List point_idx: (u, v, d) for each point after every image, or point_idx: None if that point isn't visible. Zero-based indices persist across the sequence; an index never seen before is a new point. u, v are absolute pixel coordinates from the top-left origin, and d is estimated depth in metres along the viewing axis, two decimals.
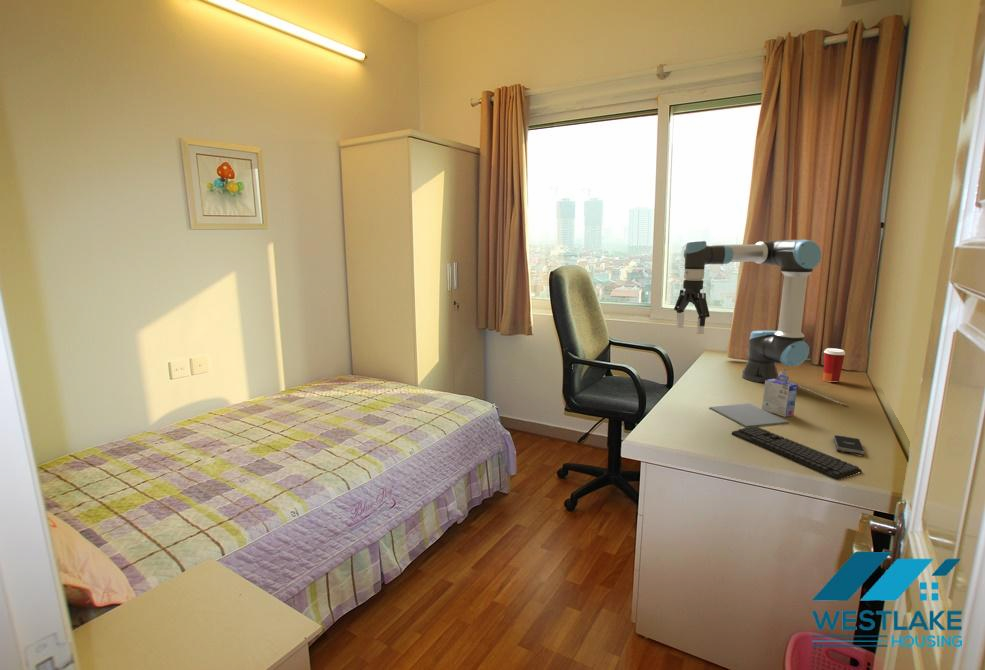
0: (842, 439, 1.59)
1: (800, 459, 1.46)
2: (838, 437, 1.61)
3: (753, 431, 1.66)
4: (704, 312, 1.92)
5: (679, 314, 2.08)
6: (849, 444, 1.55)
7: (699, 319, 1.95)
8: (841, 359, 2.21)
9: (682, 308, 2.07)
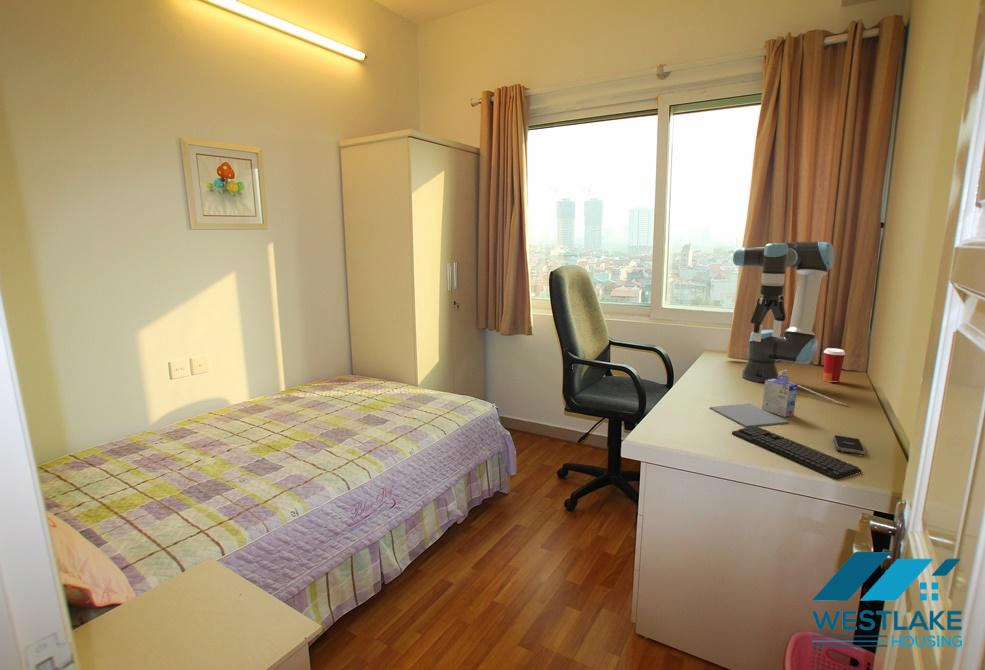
0: (842, 439, 1.59)
1: (800, 459, 1.46)
2: (838, 437, 1.61)
3: (753, 431, 1.66)
4: (753, 317, 1.85)
5: (774, 322, 1.94)
6: (849, 444, 1.55)
7: None
8: (841, 359, 2.21)
9: (776, 316, 1.92)
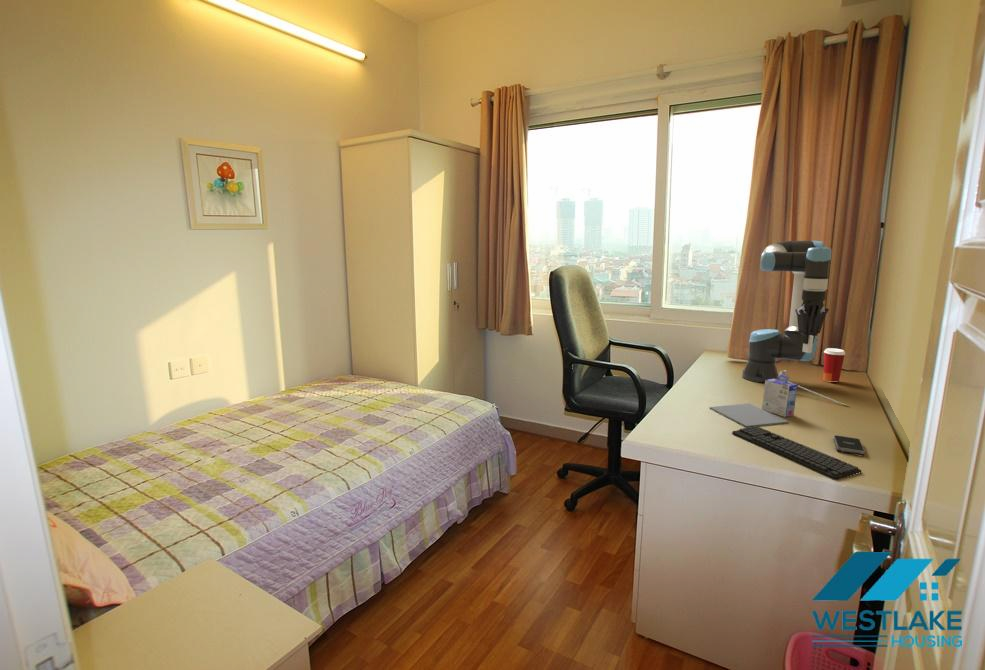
0: (842, 439, 1.59)
1: (799, 459, 1.46)
2: (838, 437, 1.61)
3: (754, 431, 1.67)
4: (799, 329, 1.84)
5: None
6: (849, 444, 1.55)
7: None
8: (841, 359, 2.21)
9: (811, 327, 1.84)
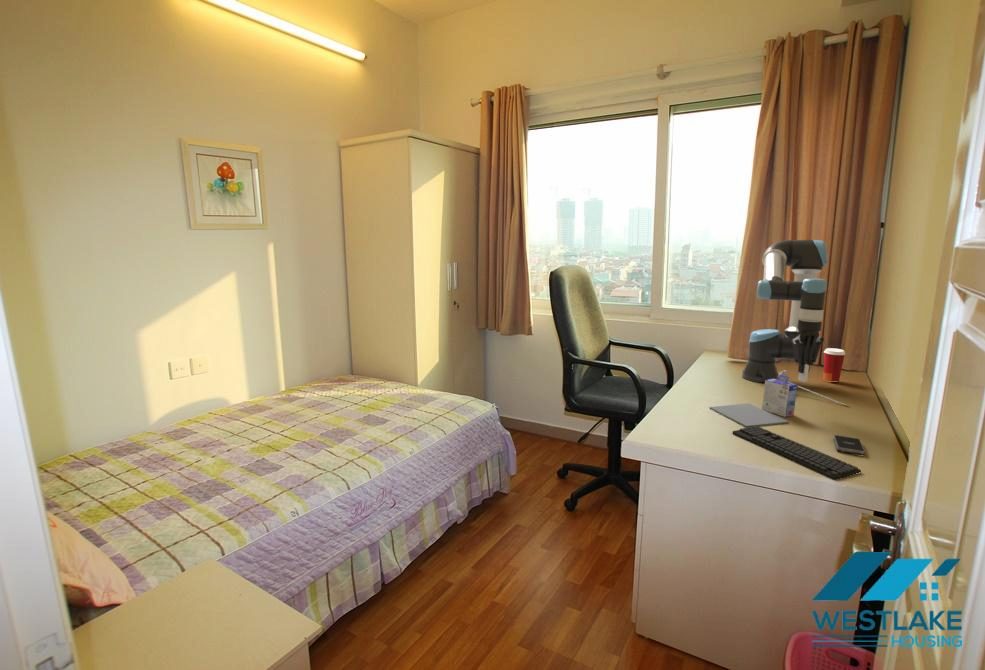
0: (843, 439, 1.59)
1: (799, 459, 1.46)
2: (838, 437, 1.61)
3: (754, 431, 1.67)
4: (795, 358, 1.86)
5: None
6: (849, 444, 1.55)
7: None
8: (841, 359, 2.21)
9: None
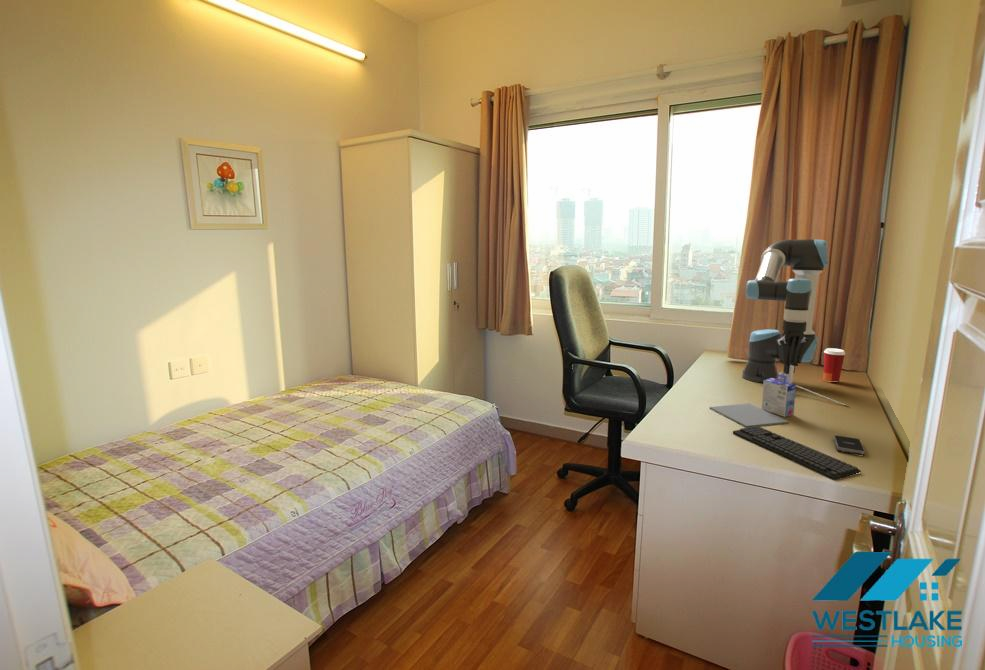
0: (843, 439, 1.59)
1: (799, 459, 1.46)
2: (838, 437, 1.61)
3: (754, 431, 1.67)
4: (780, 359, 1.84)
5: None
6: (849, 444, 1.55)
7: None
8: (841, 359, 2.21)
9: None
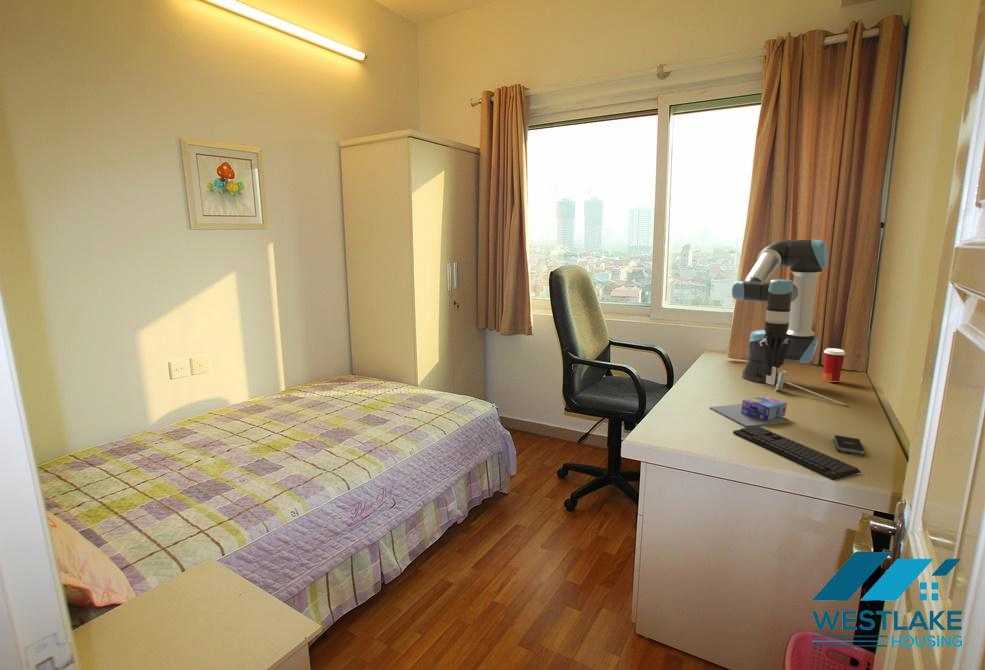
0: (843, 439, 1.59)
1: (798, 459, 1.46)
2: (838, 437, 1.61)
3: (755, 431, 1.67)
4: (762, 361, 1.83)
5: None
6: (849, 444, 1.55)
7: None
8: (841, 359, 2.21)
9: (774, 359, 1.83)
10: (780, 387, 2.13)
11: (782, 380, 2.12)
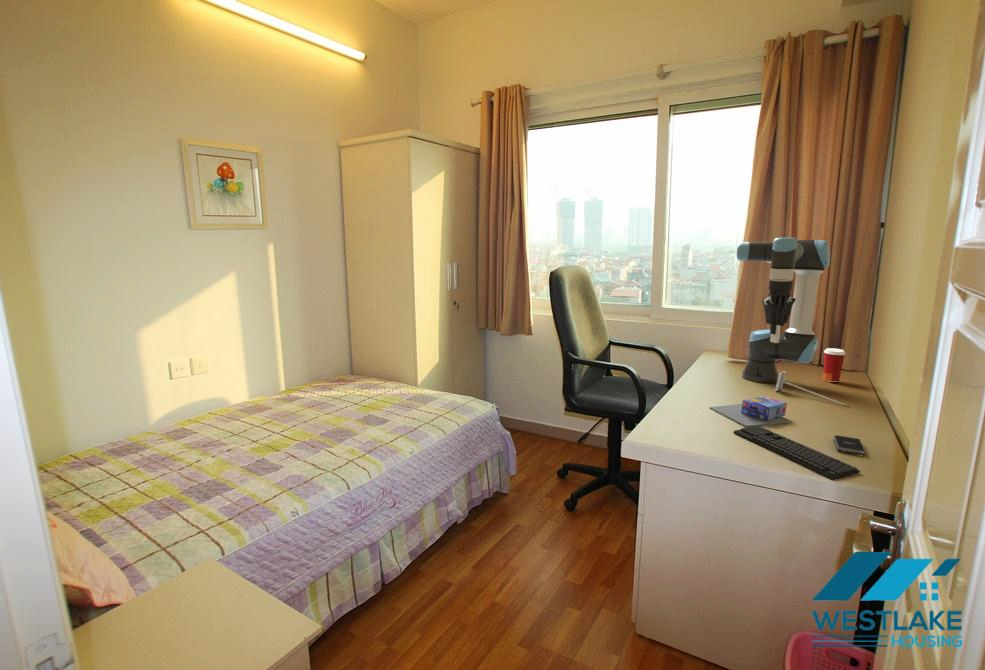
0: (843, 439, 1.59)
1: (798, 459, 1.47)
2: (838, 437, 1.61)
3: (755, 430, 1.67)
4: (766, 319, 1.84)
5: None
6: (849, 444, 1.55)
7: None
8: (841, 359, 2.21)
9: (778, 317, 1.84)
10: (780, 387, 2.13)
11: (782, 380, 2.12)
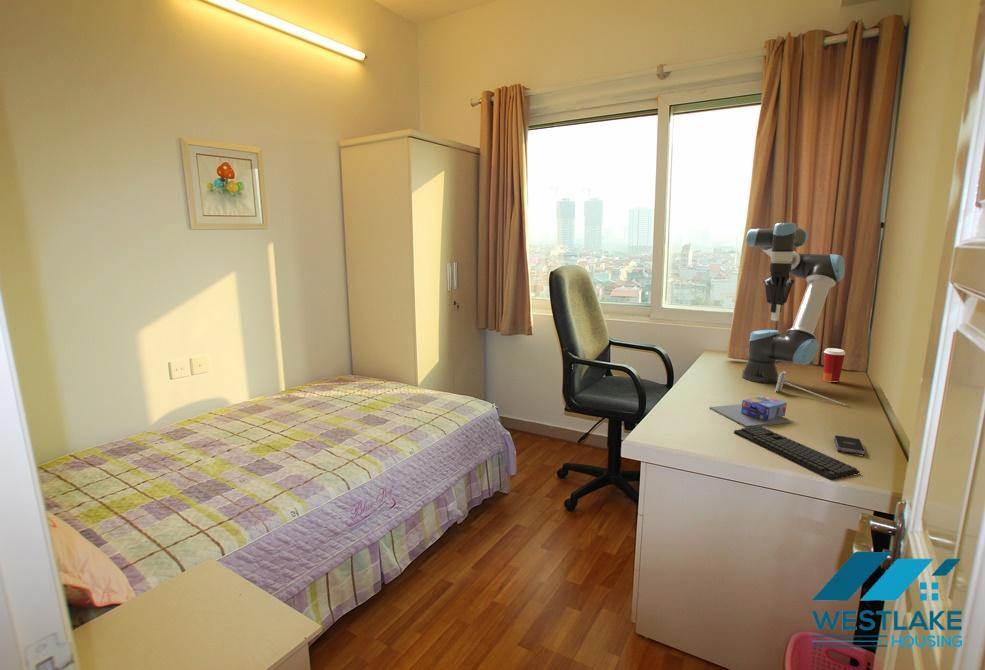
0: (843, 439, 1.59)
1: (797, 459, 1.47)
2: (838, 437, 1.61)
3: (756, 430, 1.67)
4: (767, 299, 1.99)
5: None
6: (849, 444, 1.55)
7: None
8: (841, 359, 2.21)
9: (778, 297, 2.00)
10: (780, 388, 2.12)
11: (782, 381, 2.11)
